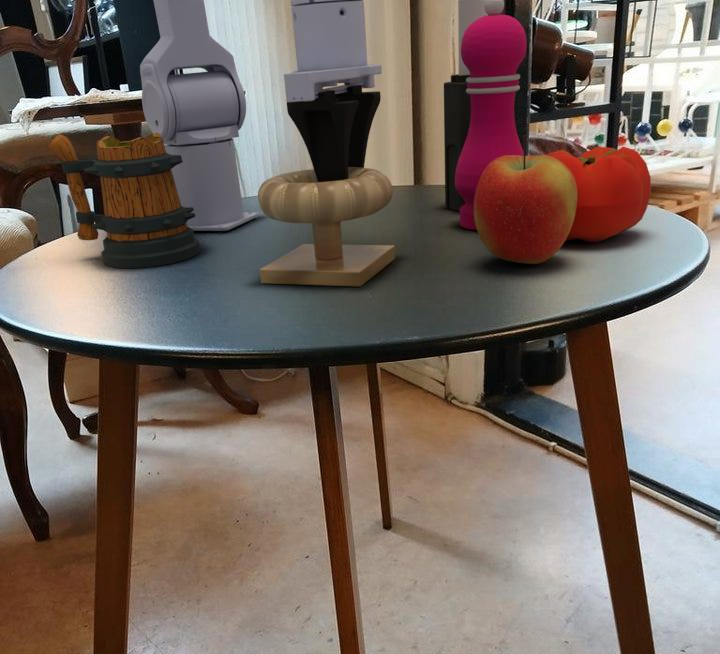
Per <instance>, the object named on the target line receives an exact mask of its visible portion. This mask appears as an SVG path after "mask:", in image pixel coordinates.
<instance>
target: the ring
mask: <svg viewBox="0 0 720 654" xmlns="http://www.w3.org/2000/svg"><path fill="white" fill-rule="evenodd" d="M393 192H394V191H393V185H392V182H391V181H390V178H388V176H387V175H386V174H384V173H383V172H381V171H380V170H378V169H375V168H371V167H364V168H360V167H348V179H346V180H339V181H329V182H318V181H317V178H316V175H315V171H314V168H309V169H302V170H295V171H290V172H285V173H281V174H278V175H275V176H272V177H270V178H267V179H266V180H265V181H263V182H262V183H261V185H260V187H259V188H258V191H257V200H258V204H259V207H260V210H261V212H262V213H263V214H264V215H265V216H266V217H267V218H268V219H270V220H273V221H278V222H283V223H289V224H312V223H327V222H337V221H340V222H345V221H351V220H352V221H353V220H356V219H360V218H365V217H369V216H372V215H374V214H376V213H378V212H380V211H381V210H383V209H384V208H386V207H387V206H388V205H389V204H390V202H391V201H392V198H393V194H394V193H393Z"/></svg>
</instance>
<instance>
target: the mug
mask: <svg viewBox="0 0 720 654" xmlns="http://www.w3.org/2000/svg"><path fill="white" fill-rule="evenodd" d="M146 136H147V137H136V138H134V139H132V140H125V141H121V140H120V139H117V138H115V137H113V136H110V135H105V136H104V137H102V138H100V139H97V140H96V142H95V143H96V152H97V160H96V159H84V160H81V159H78V157H77V154H76V151H75V149H74V146H73V144H72V142H71V141H70V139H69V138H68V137H67V136H65V135H64V134H61V133H59V134H57V135H55V136H53V138H52V139H51V140H50V141H49V143H48V148H49V150H50V151H51V152H52V153H53V154H54V155H56V156H57V157H58V158H60V159H61V160H62V161H61V162H60V164H61V169H62V173H63V174H66V180H67V186H68V191H69V194H70V198H71V200H72V203H73V204H74V207H75V209H76V212H75V219H76V223H77V224H79V225H78V229H77V233H76V235H77V237H78V239H79V240H82V241H96V240H98V238H99V231H98V230H100V231H104V232H106V236H105V238H104V239H102V245H103V250H102V251H101V252H100V254H101V259H102V263H103V264H104V265H105V266H106V267H111V268H116V269H143V268H152V267H159V266H165V265H170V264H175V263H179V262H182V261H185V260H190V259H191V258H193V257H195V256H197V255H199V254H200V252H201V243H200V239H198V238H196V236H195V233H194V231H193V229H191V228H190V227H187V223H186V222H187V221H188V220H189V219H191V218H194V217H195V213H191V212H192V211H194V209H193V207H187V208H185V207H182V206H181V202H180V199H179V195H178V192H177V188H176V185H175V181H174V178H173V174H172V171H171V169H172V168H174V166H176V165H178V164H180V163H182V162H183V160H182V159H181V158H182V157H181V155H171V154H168V153H166V149H165V146H164V142H163V139H162V136H161V135H160V134H159V133H152V132H151V133H148V134H146ZM82 171H84V173H87V174H91V175H94V176H97V177H100V187H101V194H102V203H103V211H104V212H103V213H104V214H98V213H95V211H94V210H91V209H92V208H91V205H90V201H89V198H88V196H87V192H86V189H85V185H84V181H83V179H82V175H81V172H82Z"/></svg>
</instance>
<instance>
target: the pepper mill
mask: <svg viewBox="0 0 720 654" xmlns="http://www.w3.org/2000/svg"><path fill="white" fill-rule="evenodd" d="M504 8H505V1H504V0H486V1H485V4H484V9H485V12H486V14H487V16H483V17H481V18H479V19H477V20H475V21H474V22H473V23H471V24H470V25H469V27H468V28H467V29H466V31H465V33H464V35H463V38H462V43H461V58H462V61H463V63H464V65H465V66H466V67H467V69H468V70H469V72H470V77H468V78H467V79H466V82H467V83H468V85H467V87H468V88H467V89H466V93H468V94H470V98H471V120H470V127H469V131H468V135H467V138H466V141H465V144H464V146H463V149H462V152H461V155H460V157H459V160H458V164H457V168H456V172H455V187H456V190H457V191H458V193H459V194H460V195H461V197H462V198H463V199H464V201H465V203H466V204H465V205H463V206H461V208H460V212H459V226H460V227H461V228H463V229H466V230H470V231H477V228H476V224H475V218H474V199H475V193H476V189H477V186H478V183H479V180H480V177H481V175H482V173H483V171H484V170H485V168H486V167H487V165H488V164H489V163H490V162H492V161H493V160H494V159H496V158H498V157H501V156H505V155H518V156H524V151H523V145H522V144H521V142H520V138H519V135H518V131H517V127H516V119H515V100H516V92H518V91H519V90H520V89H521V86H520V85H519V84H520V81H519V80H520V79H521V74H519V73H517V70H518V68H519V66H520V64H522V62H523V61H524V60H525V59H524V58H525V57H526V53H527V48H528V47H527V46H528V44H527V42H528V41H527V35H526V31H525V28H524V26H523V25H522V24H521V23H520V21H519V20H517V18H515V17H513V16H511V15H507V14H503V11H504Z"/></svg>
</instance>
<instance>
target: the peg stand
mask: <svg viewBox="0 0 720 654" xmlns="http://www.w3.org/2000/svg"><path fill="white" fill-rule="evenodd" d="M311 229H312V230H311V231H312V238H313V243H310V244H309V243H303V244H300V245H299V246H297V247H295V248H294V249H292V250H291V251H289V252H286V253H285V254H284V255H282V256H280V257H278V258H277V259H275V260H273V261H271V262H270V263H268V264H266V265H265V266H263V267H261V268H259V277H260V283H261V284H271V285H272V284H275V285H276V284H277V285H299V286H300V285H301V286H330V287H331V286H332V287H333V286H334V287H356V288H357V287H359V288H361V287H362V286H363V285H364V284H366V283H367V282H368V281H370V280H371V279H372V278H373V277H375V276H376V275H377V274H378V273H379V272H380V271H383V269H385V268H386V267H387V266H388V265H389V264H391V263H392V262H393V261H394V260H395V259H396V246H395V245H392V244H391V245H389V244H387V245H386V244H385V245H384V244H343V238H342V226H341V221H337V222H327V223H311Z"/></svg>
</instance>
